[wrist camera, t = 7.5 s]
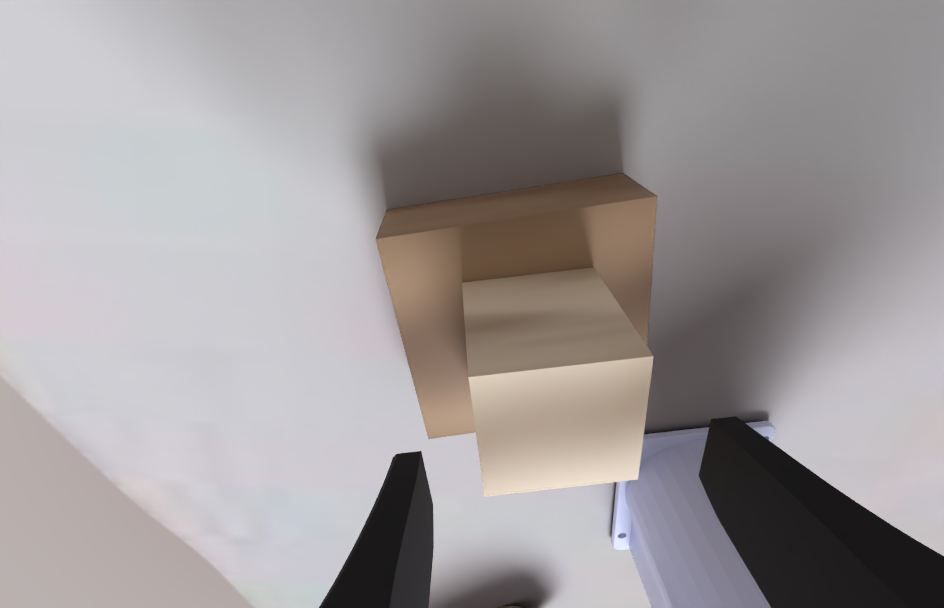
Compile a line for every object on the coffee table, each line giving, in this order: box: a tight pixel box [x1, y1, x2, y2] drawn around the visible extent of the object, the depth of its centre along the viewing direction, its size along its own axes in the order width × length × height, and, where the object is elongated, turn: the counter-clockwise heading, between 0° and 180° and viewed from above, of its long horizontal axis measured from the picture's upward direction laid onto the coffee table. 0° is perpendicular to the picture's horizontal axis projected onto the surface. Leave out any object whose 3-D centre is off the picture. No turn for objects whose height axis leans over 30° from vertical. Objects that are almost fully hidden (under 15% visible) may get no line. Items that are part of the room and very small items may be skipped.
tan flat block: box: [376, 173, 657, 439], centre depth 18 cm, size 9×9×4 cm
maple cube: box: [462, 267, 654, 497], centre depth 14 cm, size 4×4×5 cm
